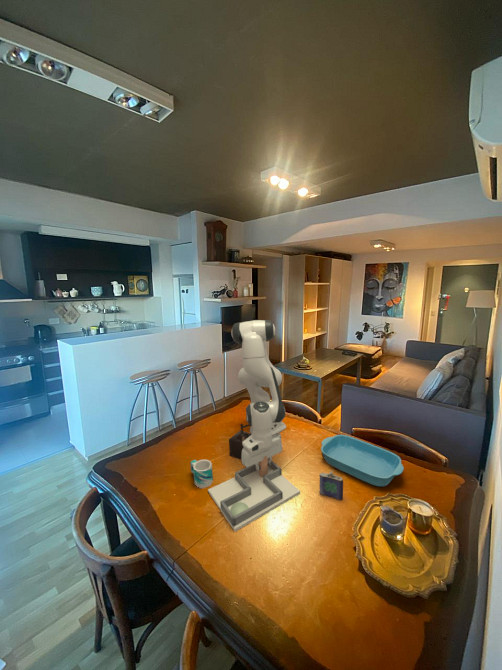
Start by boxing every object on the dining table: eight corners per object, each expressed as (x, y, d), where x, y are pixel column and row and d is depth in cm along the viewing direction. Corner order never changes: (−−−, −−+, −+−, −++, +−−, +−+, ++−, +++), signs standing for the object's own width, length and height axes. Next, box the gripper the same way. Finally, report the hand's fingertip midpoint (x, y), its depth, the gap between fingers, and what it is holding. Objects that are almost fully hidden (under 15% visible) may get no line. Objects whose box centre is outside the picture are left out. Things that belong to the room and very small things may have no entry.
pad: (242, 500, 108) (242, 499, 108) (252, 512, 103) (252, 511, 102) (227, 508, 105) (227, 507, 105) (236, 521, 99) (236, 520, 99)
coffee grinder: (247, 462, 133) (245, 429, 130) (229, 455, 139) (227, 423, 136) (263, 446, 146) (262, 415, 143) (246, 440, 152) (244, 410, 149)
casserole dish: (311, 461, 133) (311, 447, 132) (334, 441, 148) (334, 429, 147) (392, 500, 107) (393, 484, 106) (409, 472, 123) (410, 458, 121)
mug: (201, 491, 116) (199, 473, 114) (186, 477, 124) (184, 461, 123) (216, 481, 121) (215, 464, 120) (201, 469, 130) (199, 453, 128)
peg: (264, 470, 125) (263, 450, 124) (269, 475, 122) (269, 454, 120) (257, 473, 123) (256, 453, 122) (262, 478, 120) (261, 458, 118)
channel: (267, 464, 131) (267, 456, 131) (300, 493, 112) (300, 484, 112) (208, 492, 115) (207, 483, 114) (234, 531, 96) (234, 521, 95)
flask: (318, 494, 111) (319, 471, 109) (320, 489, 114) (320, 467, 112) (342, 501, 107) (343, 477, 106) (343, 496, 110) (344, 472, 108)
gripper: (276, 428, 128) (277, 455, 130) (238, 443, 117) (240, 472, 119) (285, 434, 122) (285, 462, 125) (246, 450, 112) (248, 480, 114)
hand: (263, 467), depth 122 cm, fingers closed on peg, 4 cm apart
